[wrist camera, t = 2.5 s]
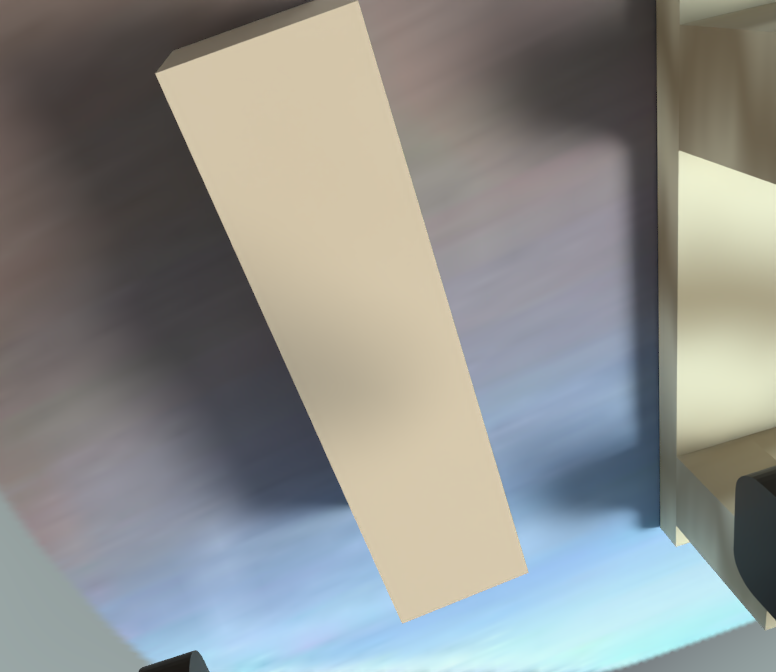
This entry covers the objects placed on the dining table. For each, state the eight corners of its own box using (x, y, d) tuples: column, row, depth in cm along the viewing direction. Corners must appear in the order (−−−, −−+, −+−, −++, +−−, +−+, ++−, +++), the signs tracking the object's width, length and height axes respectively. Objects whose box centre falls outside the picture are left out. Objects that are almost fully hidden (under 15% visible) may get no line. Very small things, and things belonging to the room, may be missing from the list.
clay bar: (172, 50, 16) (155, 73, 11) (320, -3, 16) (358, 0, 12) (366, 499, 22) (402, 623, 18) (468, 459, 23) (528, 572, 18)
